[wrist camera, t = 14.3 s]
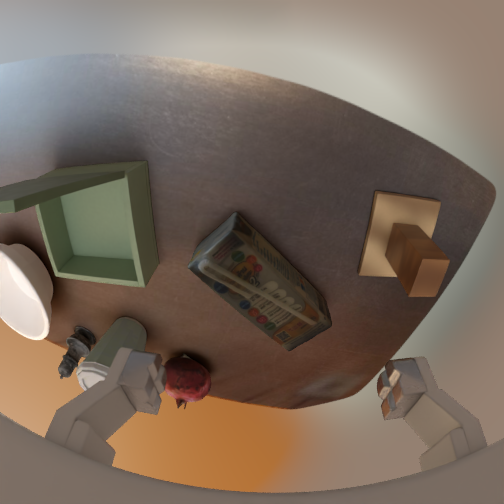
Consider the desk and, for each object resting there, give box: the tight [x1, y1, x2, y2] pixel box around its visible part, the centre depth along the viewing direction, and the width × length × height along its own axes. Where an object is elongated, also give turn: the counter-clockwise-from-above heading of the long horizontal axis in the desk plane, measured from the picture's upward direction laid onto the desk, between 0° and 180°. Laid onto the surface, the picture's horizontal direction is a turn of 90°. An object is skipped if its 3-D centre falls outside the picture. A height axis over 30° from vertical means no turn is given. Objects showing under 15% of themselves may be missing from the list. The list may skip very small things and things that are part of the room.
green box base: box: [35, 161, 159, 287], centre depth 34 cm, size 15×16×6 cm
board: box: [358, 191, 441, 277], centre depth 35 cm, size 12×10×1 cm
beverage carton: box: [188, 212, 332, 351], centre depth 37 cm, size 8×19×7 cm, turn 43°
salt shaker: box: [58, 327, 96, 379], centre depth 45 cm, size 6×6×12 cm
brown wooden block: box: [385, 223, 450, 297], centre depth 31 cm, size 5×4×9 cm
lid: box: [0, 171, 125, 213], centre depth 20 cm, size 16×16×1 cm
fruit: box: [164, 353, 211, 409], centre depth 47 cm, size 9×10×10 cm
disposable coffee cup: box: [76, 317, 147, 391], centre depth 41 cm, size 11×11×15 cm
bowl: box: [0, 243, 53, 340], centre depth 39 cm, size 21×21×8 cm
